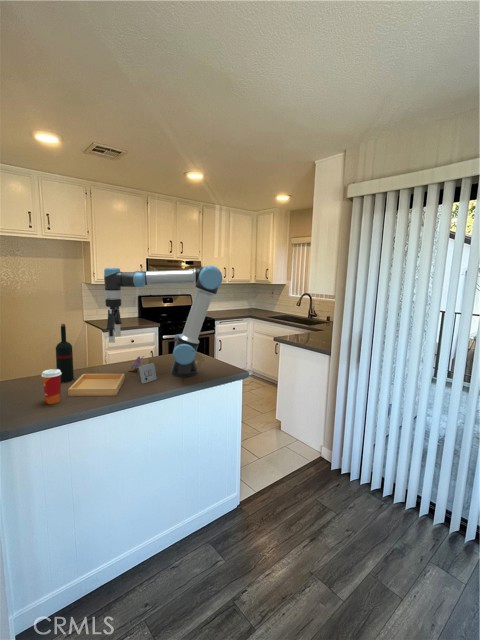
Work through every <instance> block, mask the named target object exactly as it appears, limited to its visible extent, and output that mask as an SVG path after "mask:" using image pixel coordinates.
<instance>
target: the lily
mask: <svg viewBox="0 0 480 640" xmlns="http://www.w3.org/2000/svg"><path fill="white" fill-rule="evenodd" d="M145 356H146V354H145V355H143V356H142V357H141V356H138V357H137V358H136V359H135V361H134V363H133V364H132V365H131V367H130V368H129V369H128V372H130V371H131V370H132V369H133V368H134V369H137V368H138V367H139V366H142V365H141V364H142V361H143V360H144V357H145Z"/></svg>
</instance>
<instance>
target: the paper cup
mask: <svg viewBox="0 0 480 640" xmlns="http://www.w3.org/2000/svg"><path fill="white" fill-rule="evenodd" d="M61 374H62V373H61V371H60V370H59V369H57V368H55V369H53V368H51V369H46V370H44V371H42V373H41V375H40V376H41V377H42V385H43V390H44V391H43V394H44V400H45V404H47V405H54V404H58V403H60V402H61V392H62V391H61V387H62V386H61V385H62V383H61Z"/></svg>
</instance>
